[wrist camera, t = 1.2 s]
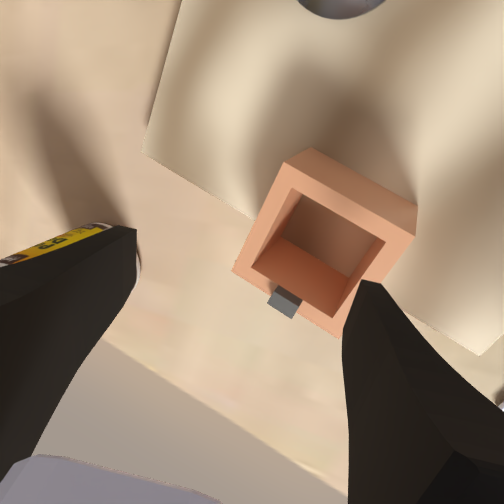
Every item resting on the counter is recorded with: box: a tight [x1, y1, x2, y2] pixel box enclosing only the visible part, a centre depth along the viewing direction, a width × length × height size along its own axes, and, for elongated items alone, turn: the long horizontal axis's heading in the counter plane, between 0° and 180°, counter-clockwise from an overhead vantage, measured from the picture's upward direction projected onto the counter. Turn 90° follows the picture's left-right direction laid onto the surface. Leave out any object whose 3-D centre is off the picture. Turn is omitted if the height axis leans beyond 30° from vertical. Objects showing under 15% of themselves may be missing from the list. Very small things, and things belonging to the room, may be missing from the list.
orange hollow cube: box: [231, 147, 418, 339], centre depth 17 cm, size 5×5×5 cm
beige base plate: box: [141, 0, 504, 357], centre depth 17 cm, size 20×16×2 cm
